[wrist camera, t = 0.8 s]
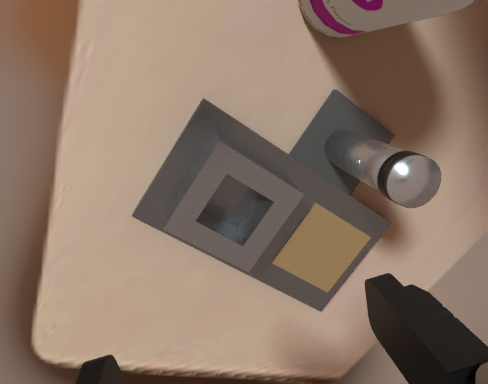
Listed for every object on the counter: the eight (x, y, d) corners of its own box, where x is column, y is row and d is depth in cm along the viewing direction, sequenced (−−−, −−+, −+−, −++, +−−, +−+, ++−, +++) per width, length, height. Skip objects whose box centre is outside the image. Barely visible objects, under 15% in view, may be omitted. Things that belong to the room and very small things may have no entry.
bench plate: (203, 97, 31) (206, 102, 27) (385, 219, 39) (413, 239, 34) (133, 212, 34) (124, 234, 29) (317, 305, 41) (334, 335, 36)
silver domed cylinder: (339, 121, 34) (416, 145, 22) (366, 141, 35) (452, 174, 23) (316, 153, 34) (380, 192, 23) (343, 172, 35) (417, 217, 24)
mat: (333, 89, 33) (336, 89, 32) (391, 134, 35) (394, 135, 35) (285, 158, 35) (287, 160, 34) (344, 197, 37) (346, 198, 36)
